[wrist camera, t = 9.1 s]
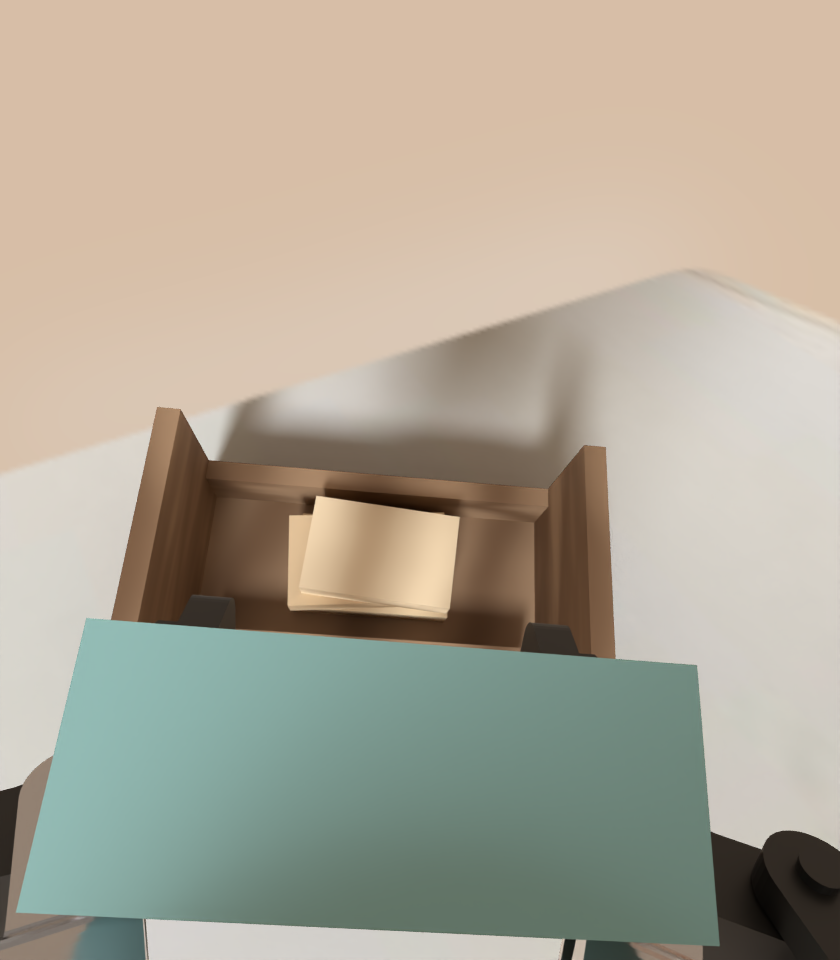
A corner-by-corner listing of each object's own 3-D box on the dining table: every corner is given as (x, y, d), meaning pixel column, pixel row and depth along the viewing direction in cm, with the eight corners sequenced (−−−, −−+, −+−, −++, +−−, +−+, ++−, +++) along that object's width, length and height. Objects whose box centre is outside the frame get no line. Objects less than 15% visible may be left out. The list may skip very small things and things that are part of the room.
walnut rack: (543, 515, 40) (605, 447, 30) (547, 809, 34) (624, 843, 25) (207, 487, 39) (156, 407, 29) (153, 788, 33) (68, 816, 23)
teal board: (474, 704, 17) (696, 666, 6) (471, 797, 17) (719, 946, 5) (262, 689, 17) (86, 618, 6) (248, 783, 16) (16, 911, 5)
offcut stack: (448, 529, 38) (460, 504, 33) (444, 625, 36) (456, 612, 31) (296, 516, 37) (288, 490, 33) (283, 614, 35) (274, 599, 31)
